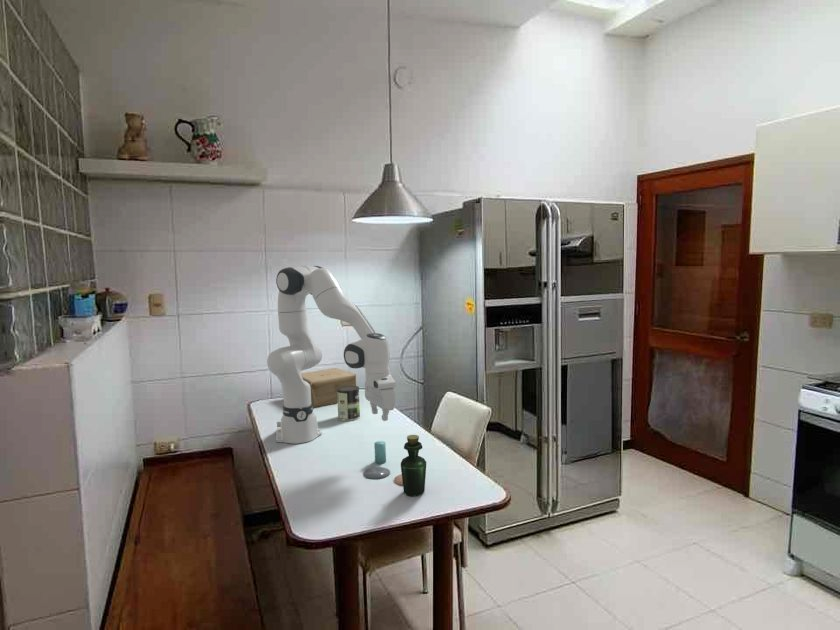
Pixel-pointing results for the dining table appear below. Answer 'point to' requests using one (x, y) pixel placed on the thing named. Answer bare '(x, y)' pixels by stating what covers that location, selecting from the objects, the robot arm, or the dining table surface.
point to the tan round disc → (398, 480)
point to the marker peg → (380, 452)
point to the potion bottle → (413, 468)
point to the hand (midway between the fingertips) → (379, 416)
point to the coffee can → (348, 403)
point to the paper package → (327, 384)
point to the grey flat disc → (376, 472)
